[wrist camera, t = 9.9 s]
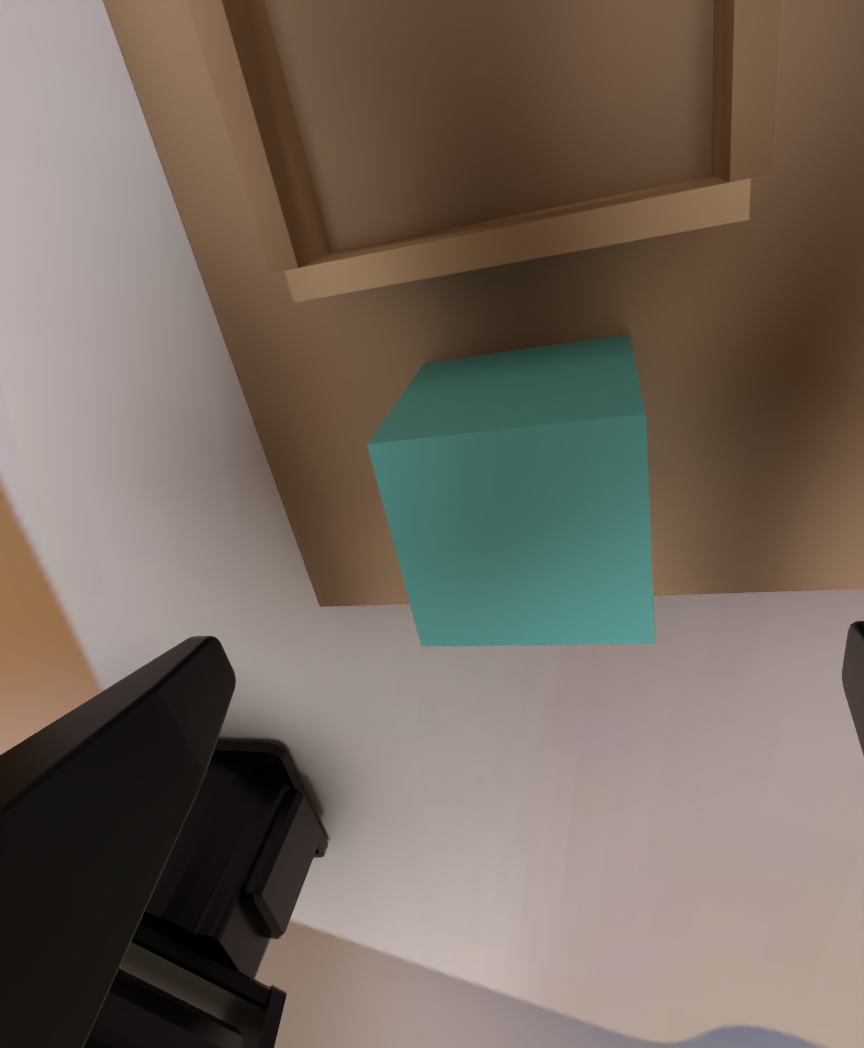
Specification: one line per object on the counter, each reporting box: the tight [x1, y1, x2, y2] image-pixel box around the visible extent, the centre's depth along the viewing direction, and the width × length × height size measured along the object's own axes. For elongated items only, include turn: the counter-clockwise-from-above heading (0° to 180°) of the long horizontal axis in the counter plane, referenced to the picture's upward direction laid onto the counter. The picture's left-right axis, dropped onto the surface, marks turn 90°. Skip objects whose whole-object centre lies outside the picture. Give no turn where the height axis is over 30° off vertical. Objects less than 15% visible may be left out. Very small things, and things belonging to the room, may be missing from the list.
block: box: [367, 334, 655, 646], centre depth 13 cm, size 4×4×4 cm
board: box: [103, 0, 864, 607], centre depth 11 cm, size 26×17×2 cm, turn 102°
